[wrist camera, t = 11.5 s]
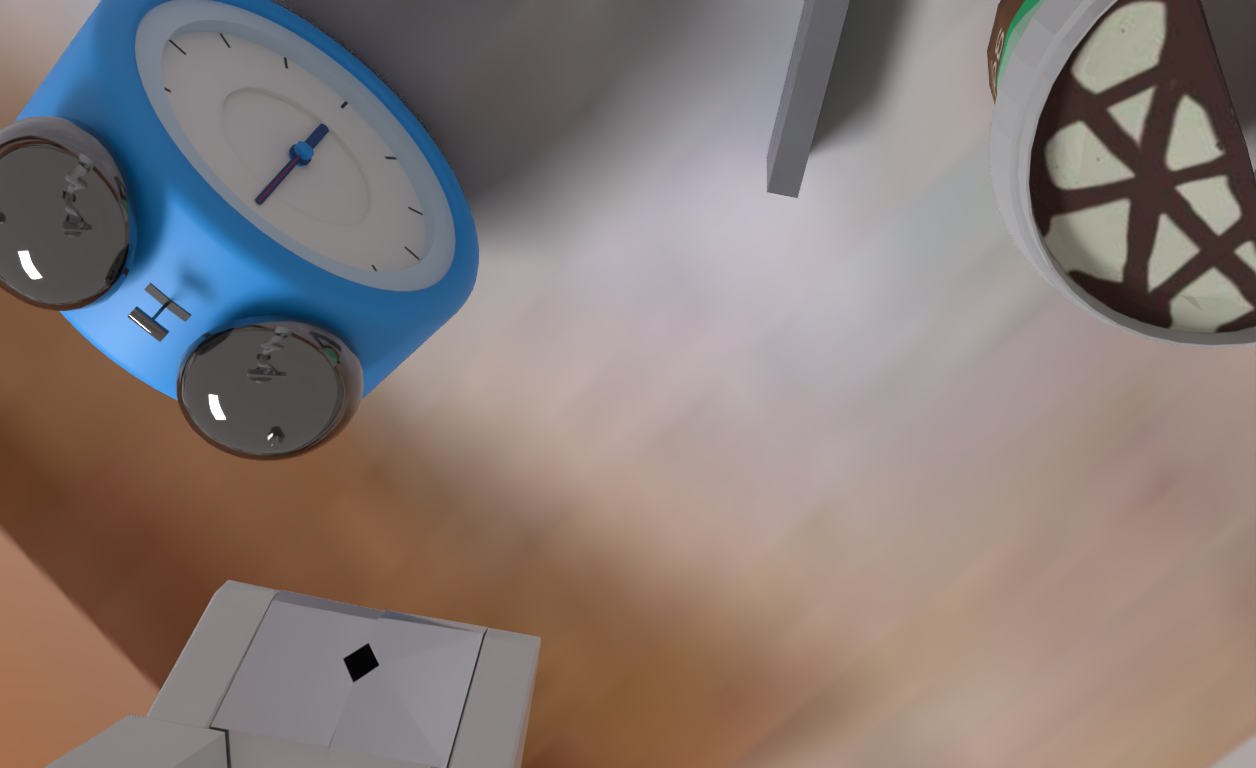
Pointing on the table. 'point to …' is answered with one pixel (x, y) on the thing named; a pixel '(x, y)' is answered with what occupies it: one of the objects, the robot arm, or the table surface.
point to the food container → (1125, 165)
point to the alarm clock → (233, 216)
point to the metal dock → (804, 94)
